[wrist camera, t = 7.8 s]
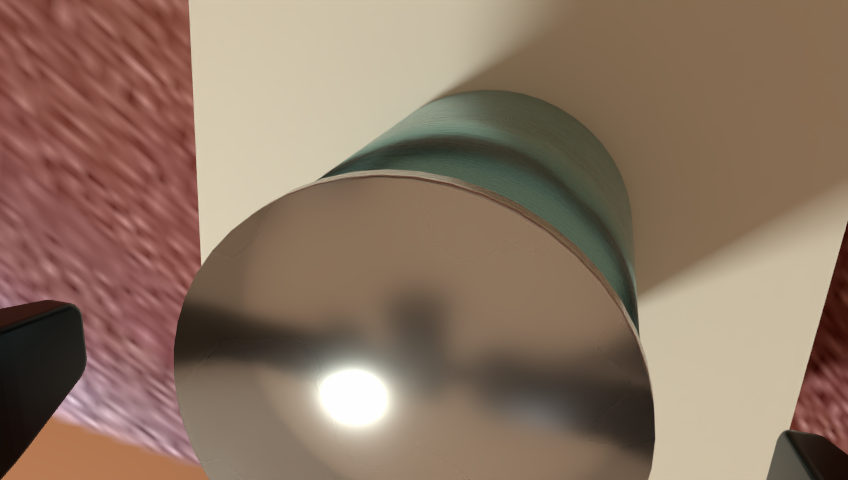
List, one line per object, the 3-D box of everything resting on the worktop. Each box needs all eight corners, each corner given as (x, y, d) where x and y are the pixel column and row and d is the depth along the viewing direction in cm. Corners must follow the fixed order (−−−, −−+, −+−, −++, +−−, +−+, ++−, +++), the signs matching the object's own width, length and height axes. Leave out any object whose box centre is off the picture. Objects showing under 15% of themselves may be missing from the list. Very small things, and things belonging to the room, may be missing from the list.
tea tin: (661, 100, 13) (703, 218, 7) (613, 376, 16) (611, 661, 9) (358, 70, 15) (159, 148, 8) (350, 331, 17) (186, 556, 10)
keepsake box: (846, -83, 16) (939, -104, 12) (723, 423, 21) (754, 551, 16) (287, -111, 19) (182, -137, 14) (288, 345, 23) (209, 436, 19)
